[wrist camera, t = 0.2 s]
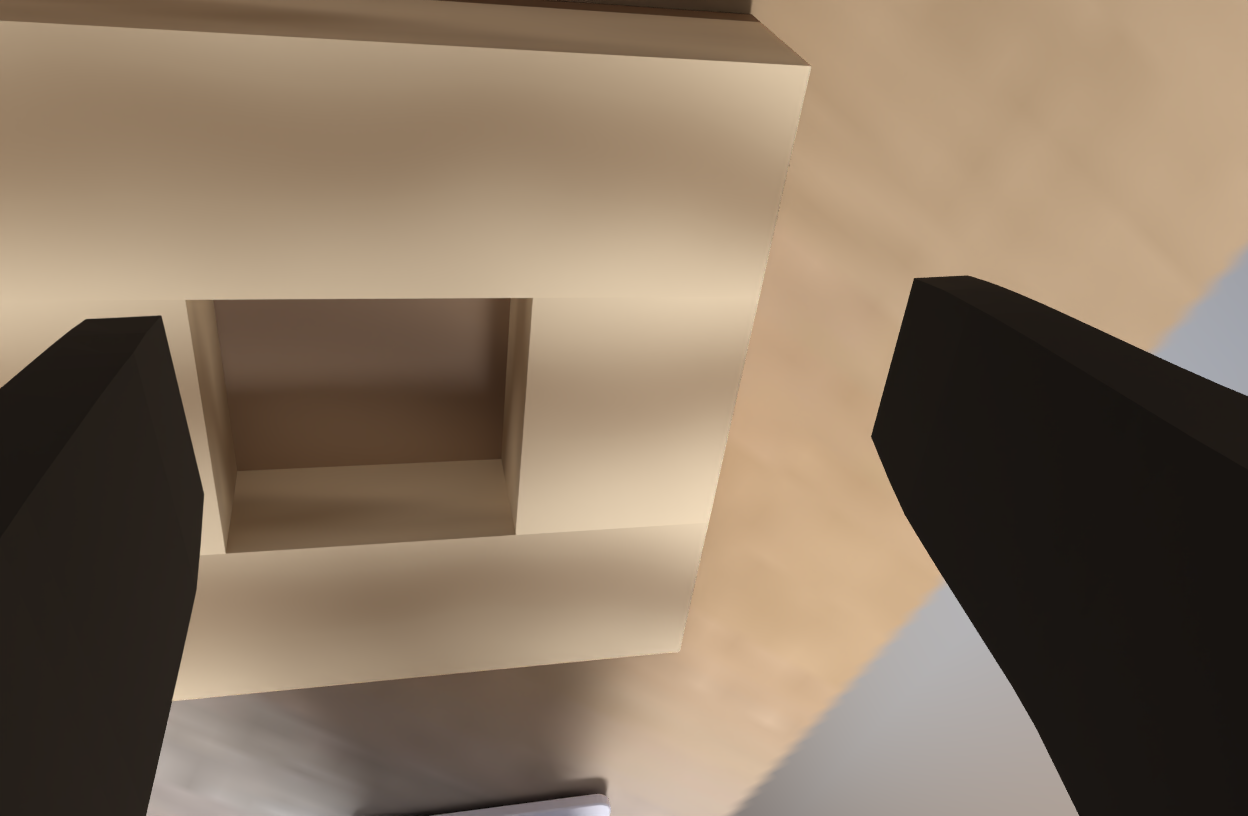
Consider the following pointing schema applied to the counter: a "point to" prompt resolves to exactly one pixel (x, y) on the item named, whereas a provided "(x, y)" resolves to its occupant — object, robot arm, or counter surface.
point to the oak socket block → (411, 303)
